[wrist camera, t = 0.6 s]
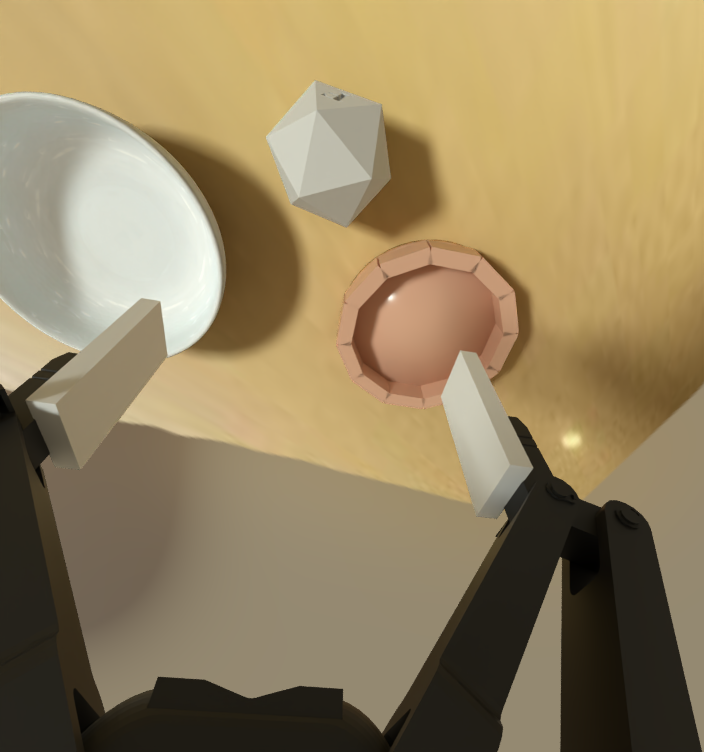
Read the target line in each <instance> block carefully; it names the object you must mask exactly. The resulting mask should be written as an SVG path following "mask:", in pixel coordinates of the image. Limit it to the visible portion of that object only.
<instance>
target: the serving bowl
mask: <svg viewBox="0 0 704 752" xmlns="http://www.w3.org/2000/svg"><path fill="white" fill-rule="evenodd" d="M225 283H226V258H225V250H224V245H223V241H222V237H221V233H220V230H219V227H218V224H217V221H216V219H215V217H214V214H213V212H212V210H211V208H210V206H209V204H208V202H207V200H206V199H205V197H204V195H203V194H202V192H201V191H200V189H199V187H198V186H197V184H196V183H195V182H194V180H193V179H192V178H191V176H190V175H189V174H188V173H187V171H186V170H185V169H184V168H183V167H182V166H181V164H180V163H179V162H178V161H177V160H176V159H175V158H174V157H173V156H172V155H171V154H170V153H169V152H168V151H167V150H166V149H164V148H163V147H162V146H161V145H160V144H159V143H157V142H156V141H155V140H154V139H152V138H151V137H150V136H148V135H147V134H146V133H144V132H143V131H141V130H140V129H138V128H137V127H135V126H134V125H132V124H130V123H129V122H127V121H125V120H123V119H122V118H120V117H118V116H116V115H114V114H112V113H110V112H108V111H105V110H103V109H101V108H98V107H96V106H93V105H90V104H88V103H85V102H82V101H79V100H76V99H73V98H69V97H65V96H61V95H56V94H50V93H42V92H15V93H7V94H3V95H0V298H1V299H2V300H3V301H4V302H5V303H6V304H7V305H8V306H9V307H10V308H12V309H13V310H14V311H15V312H16V313H17V314H18V315H20V316H21V317H22V318H23V319H25V320H26V321H27V322H29V323H30V324H31V325H33V326H34V327H36V328H37V329H39V330H40V331H42V332H43V333H45V334H47V335H48V336H50V337H52V338H54V339H56V340H57V341H59V342H61V343H63V344H65V345H67V346H70V347H72V348H74V349H77V350H79V351H82V350H83V349H84V348H85V347H86V346H87V345H88V344H90V343H91V342H92V341H93V340H94V339H95V338H96V337H98V336H99V335H100V334H101V333H102V332H103V331H104V330H105V329H107V328H108V327H109V326H110V325H111V324H112V323H113V322H115V321H116V320H117V319H118V318H119V317H120V316H121V315H123V314H124V313H125V312H126V311H127V310H128V309H129V308H130V307H132V306H133V305H134V304H135V303H136V302H137V301H138V300H140V299H141V298H145V299H151V300H157V301H160V302H161V309H162V317H163V324H164V332H165V339H166V347H167V354H168V356H167V357H166V358H168V357H171V356H174V355H176V354H178V353H180V352H182V351H184V350H186V349H188V348H190V347H191V346H192V345H194V344H195V343H196V342H197V341H199V340H200V339H201V338H202V337H203V336H204V334H205V333H206V332H207V331H208V329H209V328H210V326H211V325H212V323H213V322H214V320H215V318H216V316H217V314H218V311H219V308H220V305H221V302H222V298H223V294H224V290H225Z"/></svg>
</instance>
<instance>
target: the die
mask: <svg viewBox="0 0 704 752" xmlns="http://www.w3.org/2000/svg"><path fill="white" fill-rule="evenodd" d="M266 139H267V142H268V144H269V147H270V150H271V152H272V155H273V158H274V160H275V163H276V166H277V168H278V171H279V174H280V176H281V179H282V182H283V184H284V187H285V190H286V192H287V195H288V198H289V200H290V203H291V204H292V205H294V206H296V207H299V208H301V209H304V210H306V211H308V212H311V213H313V214H315V215H318V216H320V217H323V218H325V219H327V220H330V221H332V222H335V223H337V224H339V225H342V226H344V227H346V228H347V227H348V226H349V225H350V223H351V222H352V221H353V220H354V219H355V218H356V217H357V216H358V215H359V213H360V212H361V211H362V210H363V209H364V208H365V207H366V206H367V205H368V204H369V202H370V201H371V200H372V199H373V198H374V197H375V196H376V195H377V194H378V193H379V191H380V190H381V189H382V188H383V187H384V186H385V185H386V184H387V183H388V181H389V180H390V179H391V174H390V166H389V158H388V150H387V142H386V134H385V127H384V119H383V111H382V104H380V103H377V102H374V101H371V100H369V99H366V98H363V97H360V96H358V95H355V94H352V93H349V92H346V91H344V90H341V89H338V88H335V87H333V86H330V85H327V84H324V83H322V82H319V81H316V80H315V81H314V82H313V83H312V84H311V85H310V87H309V88H308V89H307V90H306V91H305V92H304V93H303V95H302V96H301V97H300V98H299V99H298V100H297V102H296V103H295V104H294V105H293V106H292V107H291V109H290V110H289V111H288V112H287V113H286V114H285V115H284V117H283V118H282V119H281V120H280V121H279V122H278V124H277V125H276V126H275V127H274V128H273V129H272V131H271V132H270V133H269V134H268V135H267V136H266Z"/></svg>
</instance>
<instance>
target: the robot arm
mask: <svg viewBox="0 0 704 752" xmlns="http://www.w3.org/2000/svg"><path fill="white" fill-rule="evenodd" d="M167 356H168V354H167V347H166V339H165V332H164V324H163V317H162V309H161V302H160V301H157V300H151V299H145V298H141V299H140V300H138V301H137V302H136V303H135V304H134V305H133V306H132V307H130V308H129V309H128V310H127V311H126V312H125V313H124V314H123V315H121V316H120V317H119V318H118V319H117V320H116V321H115V322H113V323H112V324H111V325H110V326H109V327H108V328H107V329H105V330H104V331H103V332H102V333H101V334H100V335H99V336H98V337H96V338H95V339H94V340H93V341H92V342H91V343H90V344H88V345H87V346H86V347H85V348H84V349H83V350H82V351H80V352H79V353H78V354H76V353H70V352H68V353H66V354H64V355H61V356H59V357H57V358H55V359H52V360H51V361H50V362H49V363H48V364H46V365H45V366H44V367H43V368H41V371H38V372H37V373H35V374H34V375H33V376H32V378H29V379H28V380H27V381H26V382H24V383H23V384H22V385H21V386H20V387H18V388H17V389H16V390H15V391H14V392H12V393H11V394H10V395H9V396H8V395H7V393H6V391H5V389H4V388H3V386H2V385H1V384H0V752H497V751H498V748H499V745H500V741H501V738H502V732H503V726H502V724H501V721H500V719H501V713H502V710H503V707H504V704H505V702H506V699H507V697H508V694H509V691H510V688H511V685H512V683H513V680H514V678H515V675H516V672H517V670H518V667H519V664H520V662H521V659H522V656H523V654H524V651H525V648H526V646H527V643H528V640H529V638H530V635H531V632H532V630H533V627H534V624H535V622H536V619H537V616H538V614H539V611H540V608H541V605H542V603H543V600H544V598H545V595H546V592H547V590H548V587H549V584H550V582H551V579H552V576H553V574H554V571H555V568H556V566H557V563H558V560H559V558H560V557H561V558H562V629H561V630H562V632H561V635H562V636H561V749H560V752H702V750H701V745H700V741H699V737H698V733H697V728H696V724H695V719H694V715H693V711H692V706H691V702H690V698H689V694H688V689H687V685H686V680H685V676H684V671H683V667H682V663H681V658H680V654H679V650H678V645H677V641H676V636H675V632H674V628H673V623H672V619H671V615H670V611H669V606H668V602H667V597H666V593H665V589H664V584H663V580H662V576H661V571H660V567H659V562H658V558H657V554H656V549H655V545H654V540H653V536H652V532H651V528H650V526H649V524H648V522H647V521H646V520H645V518H644V517H643V516H642V515H641V514H640V513H639V512H638V511H636V510H635V509H634V508H633V507H631V506H629V505H627V504H626V503H623V502H620V501H617V500H613V501H612V500H610V501H608V502H607V503H606V504H604V506H603V507H602V508H601V507H598V506H596V505H593V504H591V503H588V502H586V501H583V500H581V499H579V498H578V496H577V494H576V492H575V491H574V490H573V489H572V487H571V486H570V485H568V484H567V483H566V482H564V481H563V480H561V479H559V478H557V477H554V476H553V475H552V473H551V471H550V469H549V467H548V465H547V463H546V462H545V460H544V458H543V456H542V454H541V452H540V450H539V449H538V448H537V445H536V443H535V441H534V440H533V439H532V436H531V434H530V432H529V430H528V428H527V427H526V426H525V425H524V424H523V423H522V422H521V421H520V420H519V419H518V418H517V417H510V416H507V414H506V412H505V410H504V408H503V406H502V404H501V402H500V400H499V398H498V396H497V394H496V392H495V390H494V388H493V386H492V383H491V381H490V379H489V377H488V375H487V373H486V371H485V369H484V367H483V365H482V363H481V361H480V359H479V357H478V355H477V353H474V352H468V351H462V350H460V352H459V354H458V357H457V359H456V362H455V364H454V366H453V369H452V371H451V374H450V376H449V378H448V381H447V383H446V386H445V388H444V390H443V393H442V395H441V399H442V402H443V406H444V409H445V412H446V416H447V419H448V422H449V426H450V429H451V433H452V436H453V439H454V443H455V446H456V449H457V453H458V456H459V460H460V463H461V466H462V470H463V473H464V476H465V480H466V483H467V486H468V490H469V493H470V497H471V500H472V503H473V507H474V510H475V513H476V516H477V517H485V518H494V519H497V518H498V517H499V516H500V514H501V513H502V511H503V510H504V509H505V511H506V514H507V517H508V520H507V521H506V523H505V524H504V526H503V527H502V528H501V530H500V531H499V532H498V534H497V535H496V537H497V538H496V540H495V542H494V543H493V545H492V547H491V549H490V550H489V552H488V554H487V556H486V557H485V559H484V561H483V562H482V564H481V566H480V568H479V569H478V571H477V573H476V575H475V576H474V578H473V580H472V582H471V583H470V585H469V587H468V589H467V590H466V592H465V594H464V596H463V597H462V599H461V601H460V602H459V604H458V606H457V608H456V609H455V611H454V613H453V615H452V616H451V618H450V620H449V622H448V624H447V625H446V627H445V629H444V631H443V632H442V634H441V636H440V637H439V639H438V641H437V643H436V644H435V646H434V648H433V650H432V651H431V653H430V655H429V656H428V658H427V660H426V662H425V663H424V665H423V667H422V669H421V670H420V672H419V674H418V676H417V677H416V679H415V681H414V683H413V684H412V686H411V688H410V690H409V691H408V693H407V695H406V696H405V698H404V700H403V701H402V703H401V704H400V705H399V707H398V709H397V710H396V711H395V713H394V715H393V716H392V718H391V719H390V721H389V723H388V724H387V726H386V728H385V730H384V731H383V733H381V732H380V731H379V729H378V728H377V727H376V725H375V724H374V723H373V722H372V721H371V720H370V719H369V718H368V717H367V716H366V715H365V714H363V713H362V712H361V711H360V710H359V709H357V708H355V707H354V706H352V705H351V704H349V703H347V702H345V701H343V689H334V688H319V687H304V686H298V687H294V688H291V689H287V690H283V691H279V692H275V693H272V694H268V695H264V696H261V697H257V698H246V697H243V696H241V695H239V694H236V693H234V692H232V691H230V690H227V689H225V688H223V687H220V686H218V685H216V684H213V683H211V682H209V681H206V680H199V679H184V678H168V677H158V678H157V681H156V684H155V687H154V689H153V690H149V691H146V692H143V693H141V694H138V695H135V696H133V697H131V698H129V699H127V700H125V701H124V702H122V703H120V704H118V705H117V706H115V707H114V708H112V709H111V710H109V711H108V712H106V713H105V711H104V707H103V703H102V700H101V697H100V694H99V691H98V689H97V686H96V684H95V681H94V678H93V675H92V672H91V667H90V663H89V659H88V655H87V651H86V647H85V642H84V638H83V635H82V630H81V626H80V622H79V618H78V613H77V609H76V605H75V601H74V597H73V592H72V588H71V584H70V580H69V576H68V572H67V567H66V563H65V559H64V555H63V551H62V547H61V542H60V538H59V534H58V530H57V526H56V521H55V517H54V513H53V509H52V505H51V501H50V497H49V492H48V488H47V484H46V480H45V476H44V472H43V469H42V467H41V465H40V464H41V463H42V462H43V460H45V458H46V457H47V456H48V455H50V457H51V460H52V462H53V464H54V466H55V467H61V468H68V469H77V470H81V469H82V467H83V466H84V465H85V463H86V462H87V461H88V460H89V458H90V457H91V456H92V454H93V453H94V452H95V450H96V449H97V447H98V446H99V445H100V444H101V442H102V441H103V440H104V439H105V437H106V436H107V435H108V433H109V432H110V431H111V429H112V428H113V427H114V425H115V424H116V423H117V422H118V420H119V419H120V418H121V416H122V415H123V414H124V412H125V411H126V410H127V408H128V407H129V406H130V404H131V403H132V402H133V401H134V399H135V398H136V397H137V395H138V394H139V393H140V391H141V390H142V389H143V387H144V386H145V385H146V383H147V382H148V381H149V380H150V378H151V377H152V376H153V374H154V373H155V372H156V370H157V369H158V368H159V366H160V365H161V364H162V363H163V361H164V360H165V359H166V357H167Z"/></svg>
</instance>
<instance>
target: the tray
mask: <svg viewBox="0 0 704 752" xmlns="http://www.w3.org/2000/svg"><path fill="white" fill-rule="evenodd" d="M518 333H519V328H518V318H517V308H516V298H515V291H514V289H513V288H512V287H511V286H510V285H509V284H508V283H507V282H506V281H505V280H504V279H503V278H502V277H501V276H500V275H499V274H498V273H497V272H496V270H495V269H494V268H493V267H492V266H491V265H490V264H489V263H488V262H487V261H486V260H485V259H484V258H483V257H482V256H481V255H480V254H479V253H478V252H477V251H476V250H475V249H472V248H467V247H465V246H462V245H460V244H457V243H453V242H449V241H442V240H428V239H427V240H420V241H413V242H409V243H405V244H402V245H399V246H396V247H394V248H392V249H389V250H387V251H386V252H384V253H382V254H381V255H379V256H377V257H376V258H375V259H373V260H372V261H371V262H369V263H368V264H367V265H366V266H365V267H364V268H363V269H362V270H361V271H360V272H359V274H358V275H357V276H356V278H355V279H354V280H353V282H352V283H351V285H350V287H349V288H348V289H347V290H346V291H345V293H344V299H343V304H342V308H341V314H340V320H339V325H338V331H337V341H336V344H337V345H336V346H337V348H338V351H339V353H340V355H341V358H342V360H343V362H344V365H345V367H346V369H347V372H348V374H349V376H350V379H351V380H352V382H354V383H355V384H357V385H358V386H359V387H361V388H362V389H364V390H365V391H367V392H368V393H369V394H371V395H372V396H374V397H375V398H377V399H378V400H379V401H381V402H382V403H383V402H384V403H386V404H392V405H399V406H405V407H412V408H419V409H423V407H424V409H426V408H430V407H434V406H438V405H442V404H443V402H442V399H441V395H442V393H443V390H444V388H445V386H446V383H447V381H448V378H449V376H450V374H451V371H452V369H453V366H454V364H455V362H456V359H457V357H458V354H459V352H460V350H462V351H468V352H474V353H477V355H478V357H479V359H480V361H481V363H482V365H483V367H484V369H485V371H486V373H487V375H488V377H489V379H491V378H493V377H494V376H495V375H496V374H498V371H500V370H501V368H502V366H503V364H504V362H505V360H506V358H507V356H508V354H509V352H510V350H511V349H512V347H513V345H514V343H515V341H516V339H517V337H518V335H519V334H518Z"/></svg>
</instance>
